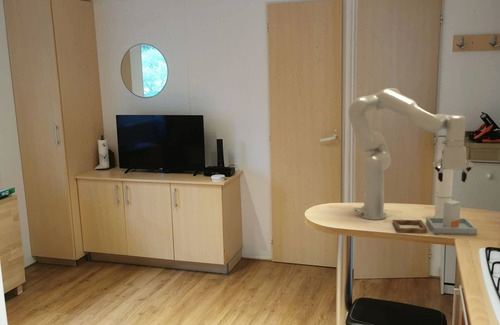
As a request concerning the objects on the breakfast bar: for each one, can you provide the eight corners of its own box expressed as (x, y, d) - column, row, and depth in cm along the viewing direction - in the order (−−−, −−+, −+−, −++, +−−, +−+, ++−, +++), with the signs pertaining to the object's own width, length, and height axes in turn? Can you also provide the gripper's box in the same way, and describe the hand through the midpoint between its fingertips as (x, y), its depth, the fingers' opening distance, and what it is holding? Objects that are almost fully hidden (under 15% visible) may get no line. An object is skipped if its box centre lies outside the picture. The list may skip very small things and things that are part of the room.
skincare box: (449, 229, 214) (451, 204, 211) (442, 227, 217) (443, 201, 215) (459, 227, 216) (461, 202, 214) (451, 225, 220) (453, 200, 218)
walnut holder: (397, 232, 214) (397, 228, 213) (392, 223, 226) (392, 219, 226) (427, 233, 212) (427, 229, 212) (420, 224, 225) (421, 220, 224)
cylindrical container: (447, 215, 237) (450, 166, 232) (452, 219, 230) (455, 169, 225) (432, 215, 238) (435, 166, 233) (437, 219, 231) (439, 169, 226)
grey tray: (433, 234, 211) (434, 227, 210) (425, 223, 225) (426, 217, 225) (476, 235, 208) (477, 228, 208) (465, 224, 223) (466, 218, 222)
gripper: (436, 144, 207) (433, 183, 210) (478, 144, 205) (475, 183, 208) (431, 142, 214) (429, 179, 218) (472, 142, 212) (469, 179, 215)
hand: (451, 181), depth 213 cm, fingers open, 9 cm apart
